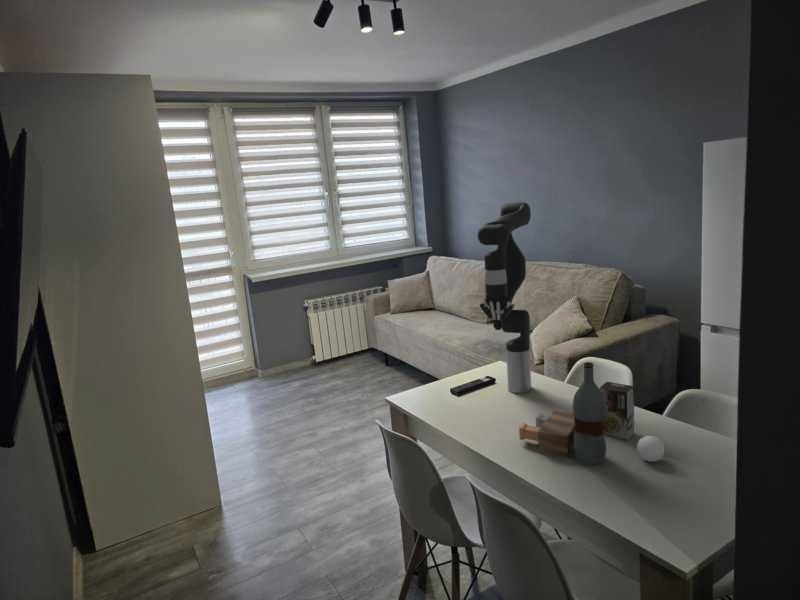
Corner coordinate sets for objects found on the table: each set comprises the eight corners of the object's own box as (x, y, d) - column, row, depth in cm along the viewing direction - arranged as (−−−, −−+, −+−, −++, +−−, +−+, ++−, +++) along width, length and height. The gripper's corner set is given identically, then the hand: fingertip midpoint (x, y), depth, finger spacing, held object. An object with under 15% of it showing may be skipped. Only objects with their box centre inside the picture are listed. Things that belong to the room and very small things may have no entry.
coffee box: (635, 432, 173) (635, 385, 170) (627, 440, 169) (627, 392, 165) (607, 426, 179) (606, 380, 176) (599, 433, 175) (598, 387, 171)
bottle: (592, 470, 153) (590, 371, 147) (567, 458, 161) (564, 364, 155) (613, 459, 158) (612, 363, 152) (587, 448, 166) (586, 356, 160)
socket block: (555, 428, 181) (554, 409, 179) (582, 432, 176) (582, 413, 175) (538, 452, 166) (537, 431, 165) (567, 457, 161) (567, 436, 160)
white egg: (670, 464, 153) (670, 440, 152) (646, 468, 152) (646, 444, 151) (649, 448, 163) (649, 426, 161) (626, 452, 162) (626, 429, 160)
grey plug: (540, 424, 181) (539, 413, 180) (579, 430, 174) (579, 419, 173) (536, 429, 178) (535, 418, 177) (576, 436, 170) (576, 424, 170)
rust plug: (523, 434, 175) (523, 422, 174) (564, 441, 168) (564, 429, 167) (519, 439, 171) (519, 427, 171) (560, 447, 164) (560, 435, 164)
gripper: (517, 280, 186) (519, 328, 189) (482, 279, 193) (485, 325, 196) (510, 284, 180) (512, 333, 183) (474, 283, 187) (476, 331, 190)
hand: (498, 329), depth 190 cm, fingers closed
